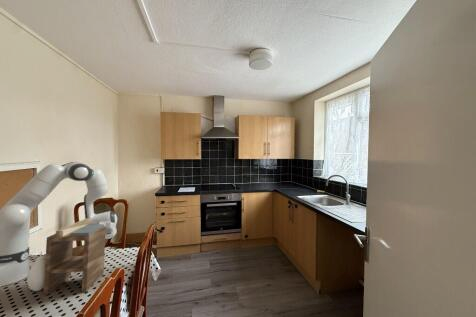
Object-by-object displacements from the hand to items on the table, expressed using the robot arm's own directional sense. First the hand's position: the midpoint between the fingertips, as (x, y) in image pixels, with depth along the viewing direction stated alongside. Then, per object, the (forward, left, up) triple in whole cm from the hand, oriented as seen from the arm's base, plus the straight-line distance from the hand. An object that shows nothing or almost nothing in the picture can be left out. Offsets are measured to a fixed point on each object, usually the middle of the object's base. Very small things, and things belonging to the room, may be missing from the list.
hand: (89, 223), depth 110 cm
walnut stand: (+5, -16, -25) cm, 30 cm away
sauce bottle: (-9, -19, -25) cm, 33 cm away
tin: (-11, +9, -25) cm, 29 cm away
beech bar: (0, -11, +1) cm, 11 cm away
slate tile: (+9, -16, +1) cm, 19 cm away
